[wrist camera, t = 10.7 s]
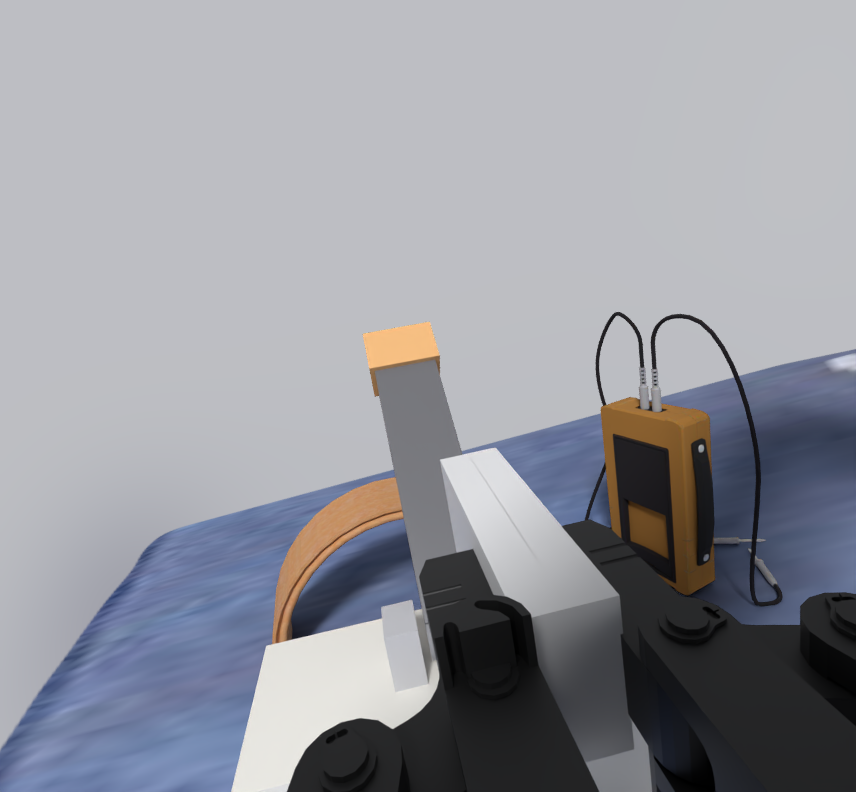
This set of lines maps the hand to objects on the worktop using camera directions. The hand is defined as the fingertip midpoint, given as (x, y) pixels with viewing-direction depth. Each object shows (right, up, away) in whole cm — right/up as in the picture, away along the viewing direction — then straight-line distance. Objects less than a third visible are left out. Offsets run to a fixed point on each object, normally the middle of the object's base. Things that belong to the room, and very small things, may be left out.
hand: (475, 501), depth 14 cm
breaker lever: (+1, -9, +12) cm, 15 cm away
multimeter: (+20, -10, +27) cm, 35 cm away
